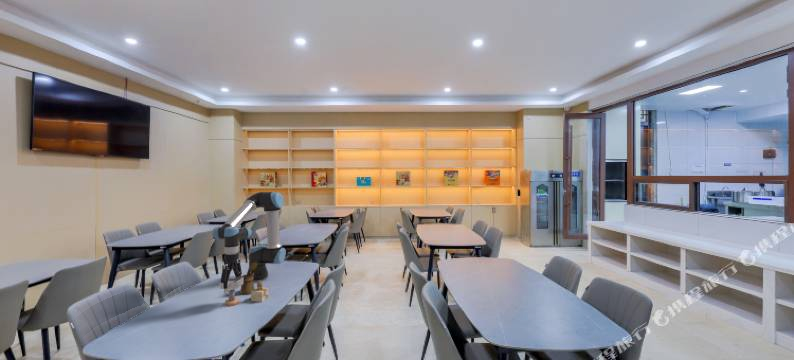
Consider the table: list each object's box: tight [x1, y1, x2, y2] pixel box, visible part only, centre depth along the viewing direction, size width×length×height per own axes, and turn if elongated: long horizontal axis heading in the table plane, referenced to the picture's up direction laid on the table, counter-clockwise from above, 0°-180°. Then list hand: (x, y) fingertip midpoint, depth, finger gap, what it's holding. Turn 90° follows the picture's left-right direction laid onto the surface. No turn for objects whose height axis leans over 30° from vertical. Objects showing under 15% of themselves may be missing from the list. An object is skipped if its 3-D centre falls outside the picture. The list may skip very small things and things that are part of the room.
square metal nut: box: [219, 276, 243, 290], centre depth 182 cm, size 9×9×4 cm
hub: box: [224, 289, 240, 307], centre depth 182 cm, size 7×7×8 cm
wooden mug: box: [239, 262, 258, 296], centre depth 202 cm, size 9×14×18 cm, turn 170°
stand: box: [250, 280, 269, 303], centre depth 189 cm, size 7×7×11 cm
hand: (231, 290), depth 182 cm, fingers closed on square metal nut, 9 cm apart
